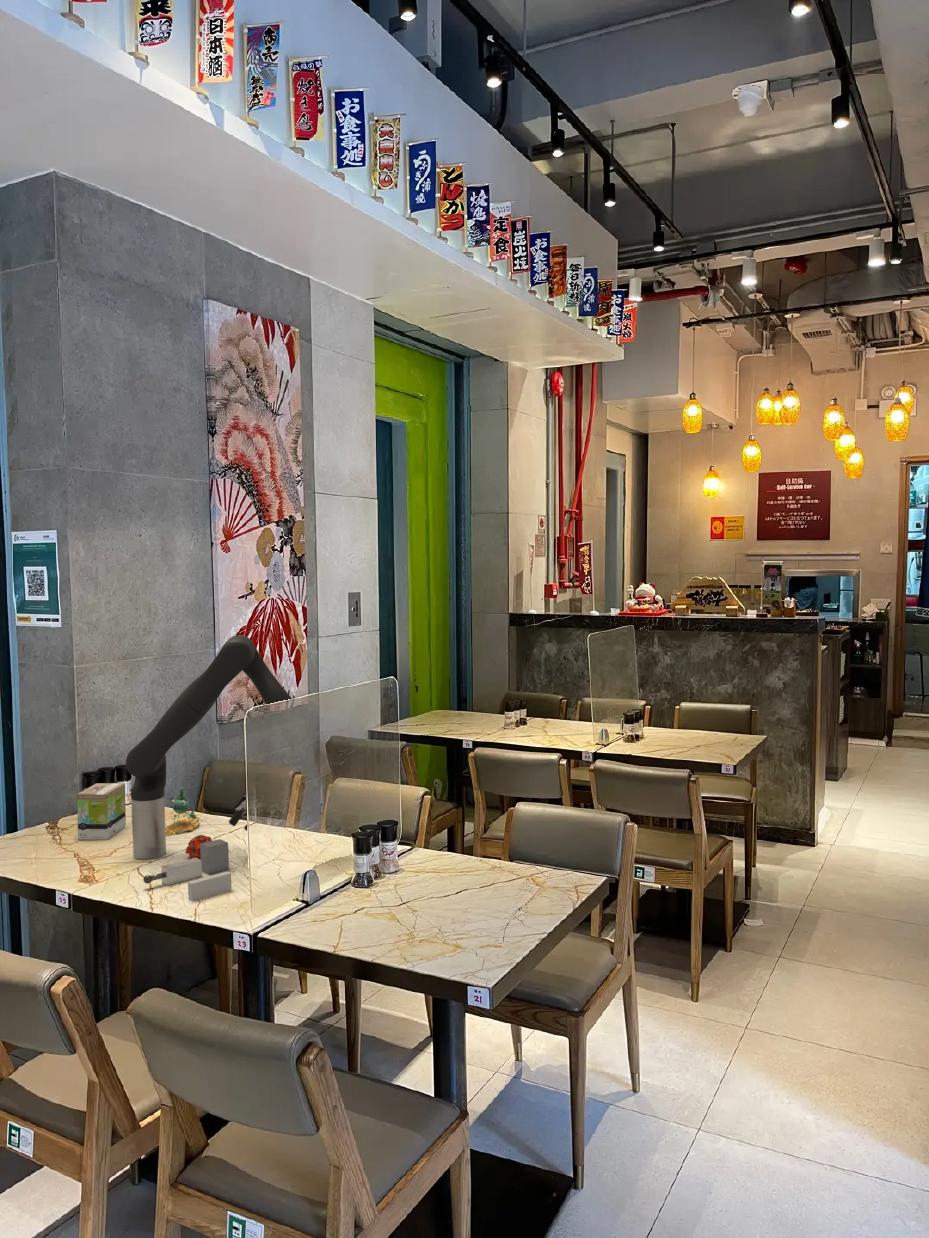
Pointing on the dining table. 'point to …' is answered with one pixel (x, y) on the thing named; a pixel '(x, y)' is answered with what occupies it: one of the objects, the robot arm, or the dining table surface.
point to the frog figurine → (183, 824)
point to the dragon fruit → (196, 846)
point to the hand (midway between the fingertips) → (238, 827)
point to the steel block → (214, 856)
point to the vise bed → (209, 886)
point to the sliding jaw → (177, 872)
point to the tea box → (101, 811)
